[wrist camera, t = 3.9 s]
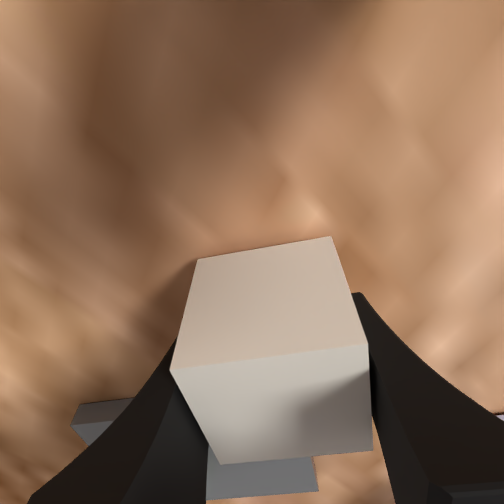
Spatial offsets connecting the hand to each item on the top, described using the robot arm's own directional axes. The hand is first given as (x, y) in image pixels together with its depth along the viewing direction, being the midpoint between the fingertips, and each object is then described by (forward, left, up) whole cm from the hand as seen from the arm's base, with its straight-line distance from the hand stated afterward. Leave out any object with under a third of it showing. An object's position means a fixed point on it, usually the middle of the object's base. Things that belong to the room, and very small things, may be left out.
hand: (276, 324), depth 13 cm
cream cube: (0, 0, -2) cm, 2 cm away
